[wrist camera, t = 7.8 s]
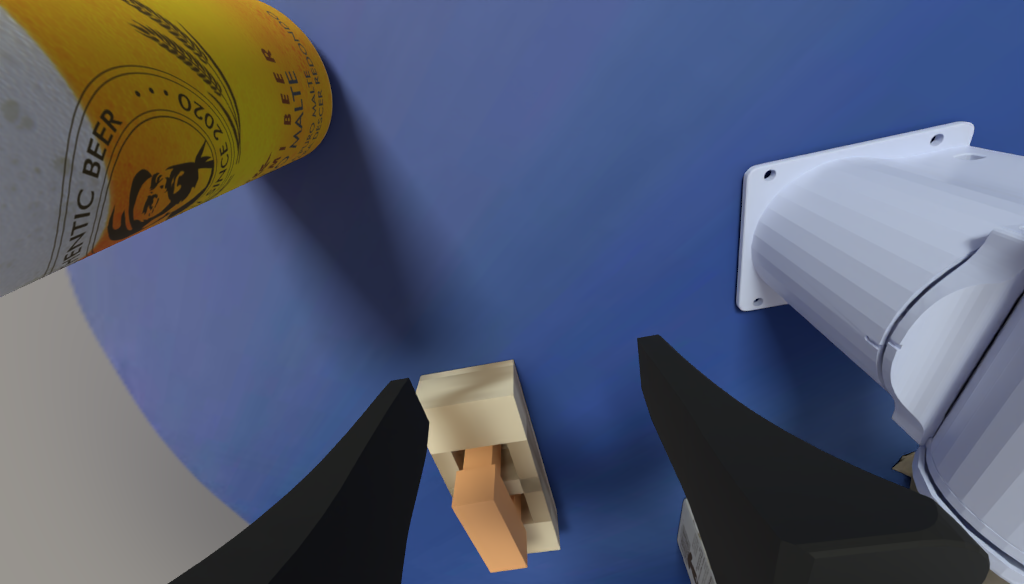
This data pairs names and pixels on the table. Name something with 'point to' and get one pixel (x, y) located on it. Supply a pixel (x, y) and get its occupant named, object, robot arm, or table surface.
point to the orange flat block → (490, 510)
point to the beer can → (141, 117)
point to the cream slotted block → (491, 438)
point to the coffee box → (693, 549)
